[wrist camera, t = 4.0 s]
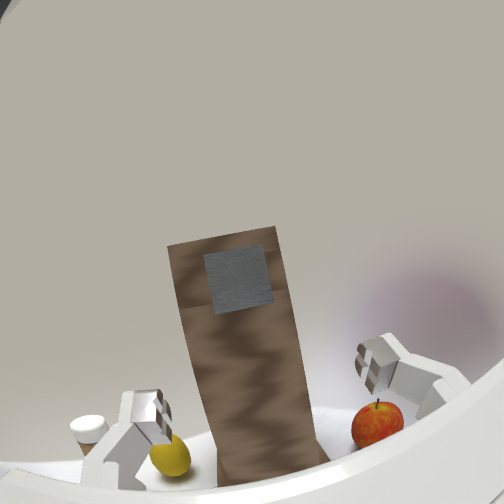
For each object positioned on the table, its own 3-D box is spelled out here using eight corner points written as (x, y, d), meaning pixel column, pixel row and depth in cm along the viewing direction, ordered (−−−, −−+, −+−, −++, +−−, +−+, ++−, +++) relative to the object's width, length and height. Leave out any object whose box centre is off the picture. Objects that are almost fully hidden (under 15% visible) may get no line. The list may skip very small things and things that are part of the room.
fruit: (363, 468, 23) (361, 420, 24) (346, 443, 30) (341, 398, 31) (412, 447, 24) (413, 397, 24) (389, 426, 30) (387, 381, 31)
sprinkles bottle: (133, 490, 24) (95, 410, 25) (152, 504, 21) (111, 420, 22) (108, 502, 20) (64, 420, 21) (125, 518, 17) (76, 432, 19)
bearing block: (221, 517, 19) (140, 247, 22) (219, 456, 33) (169, 262, 36) (344, 486, 21) (301, 217, 24) (309, 436, 35) (272, 242, 38)
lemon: (177, 462, 32) (160, 421, 33) (205, 470, 29) (189, 427, 30) (153, 479, 27) (133, 436, 28) (180, 490, 24) (160, 446, 25)
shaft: (215, 314, 13) (203, 255, 14) (218, 297, 38) (214, 276, 38) (274, 302, 14) (262, 243, 14) (240, 293, 38) (235, 271, 38)
